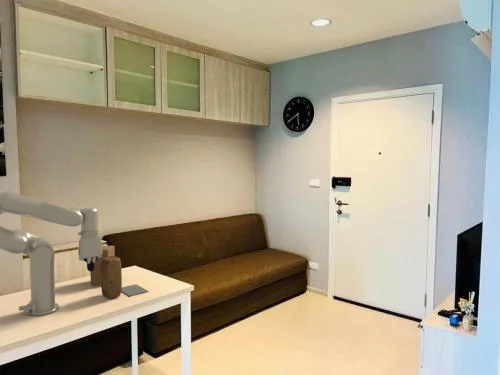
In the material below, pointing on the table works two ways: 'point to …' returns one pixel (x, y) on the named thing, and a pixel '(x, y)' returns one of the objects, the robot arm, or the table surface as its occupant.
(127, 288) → the mat
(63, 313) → the table surface
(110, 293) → the block
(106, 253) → the wooden block
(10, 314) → the table surface
